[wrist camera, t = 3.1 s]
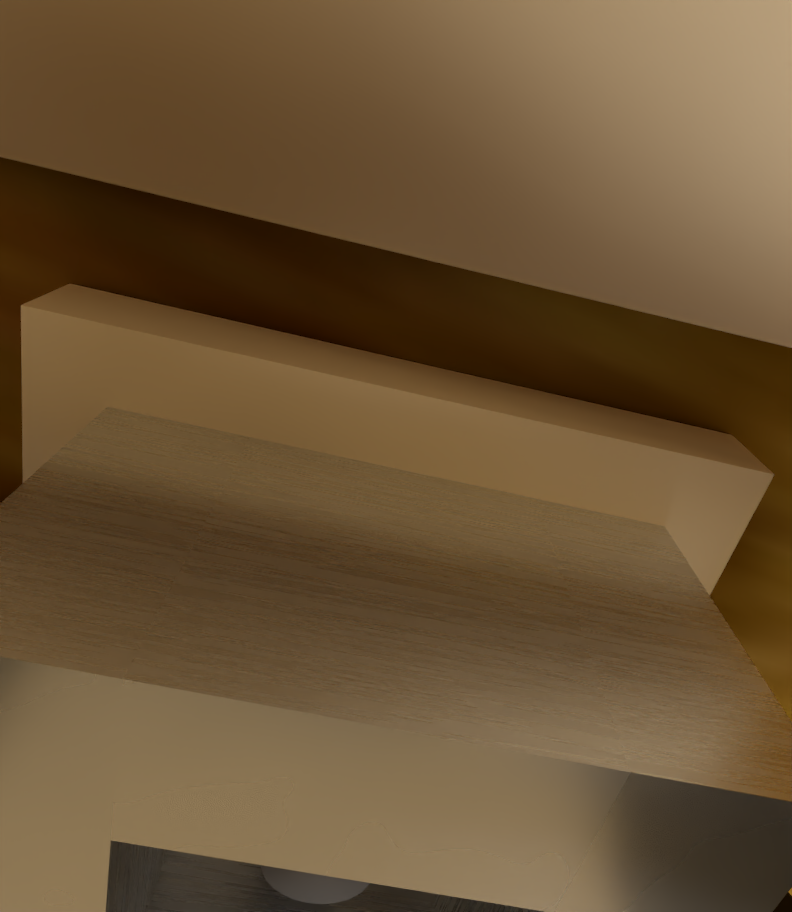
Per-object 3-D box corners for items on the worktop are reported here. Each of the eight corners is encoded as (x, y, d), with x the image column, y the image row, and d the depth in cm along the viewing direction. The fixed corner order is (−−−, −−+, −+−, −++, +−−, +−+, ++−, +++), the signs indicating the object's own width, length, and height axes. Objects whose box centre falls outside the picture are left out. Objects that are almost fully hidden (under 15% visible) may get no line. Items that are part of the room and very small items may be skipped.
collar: (503, 868, 12) (545, 1202, 8) (88, 798, 11) (-70, 1124, 7) (664, 527, 9) (850, 813, 5) (107, 407, 8) (-142, 631, 4)
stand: (529, 848, 13) (575, 1119, 10) (59, 767, 12) (-84, 1027, 9) (732, 434, 9) (936, 625, 6) (70, 283, 9) (-177, 392, 5)
